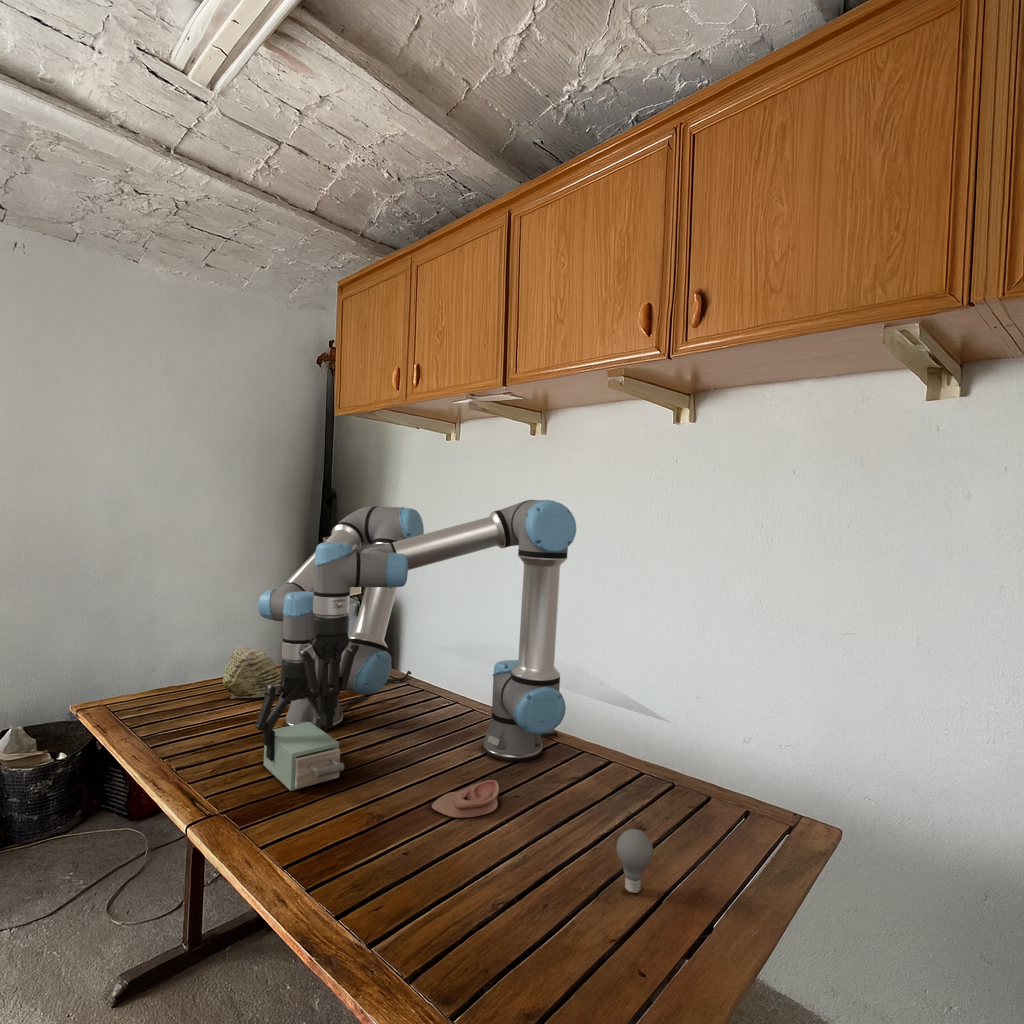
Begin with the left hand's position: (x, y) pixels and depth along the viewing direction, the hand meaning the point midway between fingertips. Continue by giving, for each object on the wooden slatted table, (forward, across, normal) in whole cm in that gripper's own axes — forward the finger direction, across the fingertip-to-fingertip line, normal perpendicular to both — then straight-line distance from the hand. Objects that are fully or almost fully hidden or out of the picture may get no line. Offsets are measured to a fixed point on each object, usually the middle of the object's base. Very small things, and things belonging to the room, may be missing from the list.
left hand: (295, 752), depth 148 cm
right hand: (-11, 0, -16) cm, 19 cm away
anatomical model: (+3, +21, -39) cm, 44 cm away
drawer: (+2, 0, -8) cm, 9 cm away
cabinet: (+3, 0, -3) cm, 5 cm away
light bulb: (+3, +26, -78) cm, 83 cm away
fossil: (+3, +11, +58) cm, 59 cm away
